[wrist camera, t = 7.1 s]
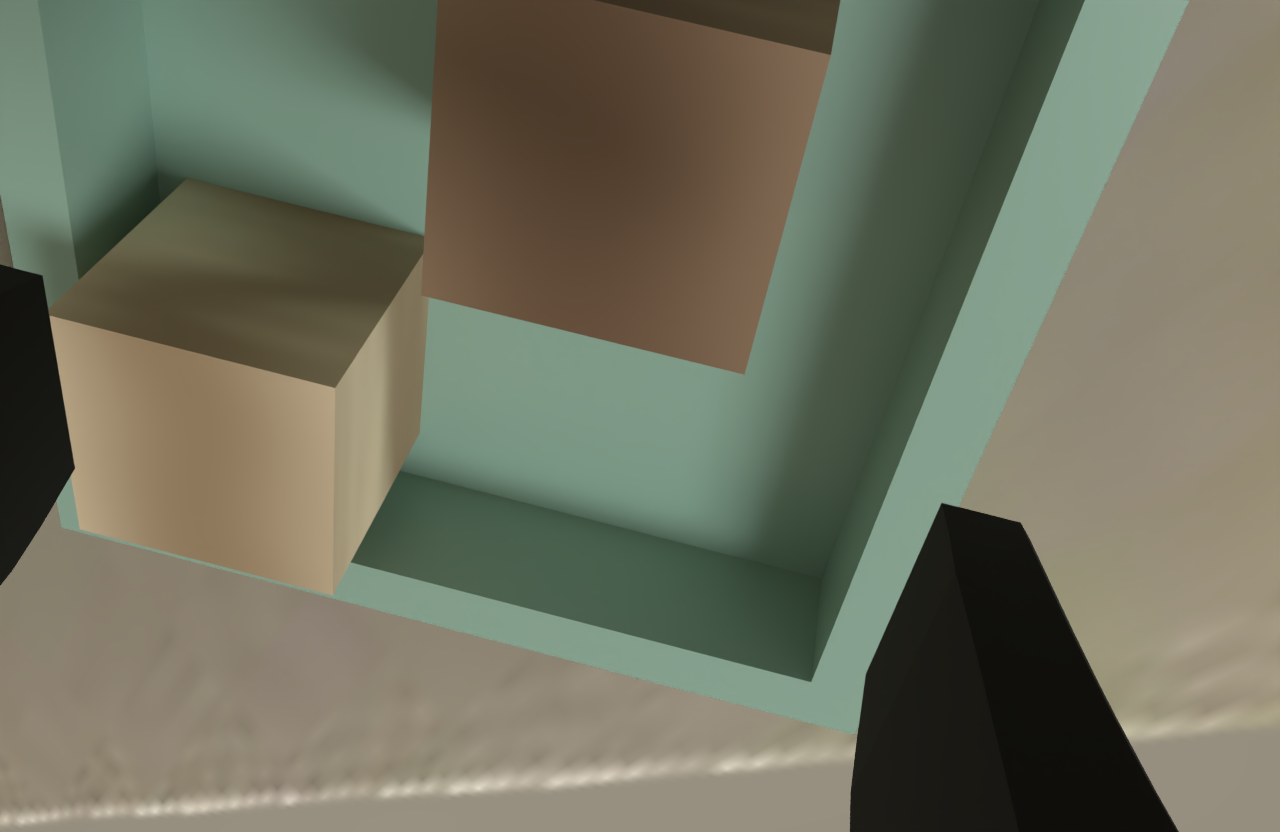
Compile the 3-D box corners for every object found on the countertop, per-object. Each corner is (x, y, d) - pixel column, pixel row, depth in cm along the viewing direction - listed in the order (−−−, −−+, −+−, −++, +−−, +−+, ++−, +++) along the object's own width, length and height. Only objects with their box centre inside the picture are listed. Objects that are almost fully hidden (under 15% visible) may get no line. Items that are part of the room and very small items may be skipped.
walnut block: (851, -64, 15) (831, 55, 12) (777, 216, 18) (744, 374, 15) (539, -135, 15) (439, -36, 12) (510, 152, 18) (420, 295, 15)
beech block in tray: (433, 238, 19) (335, 387, 16) (420, 433, 21) (332, 595, 18) (187, 177, 19) (42, 313, 16) (202, 378, 22) (80, 528, 19)
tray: (1199, -205, 14) (1253, -141, 12) (862, 606, 23) (854, 734, 20) (48, -463, 15) (-118, -452, 12) (148, 422, 23) (61, 527, 21)
